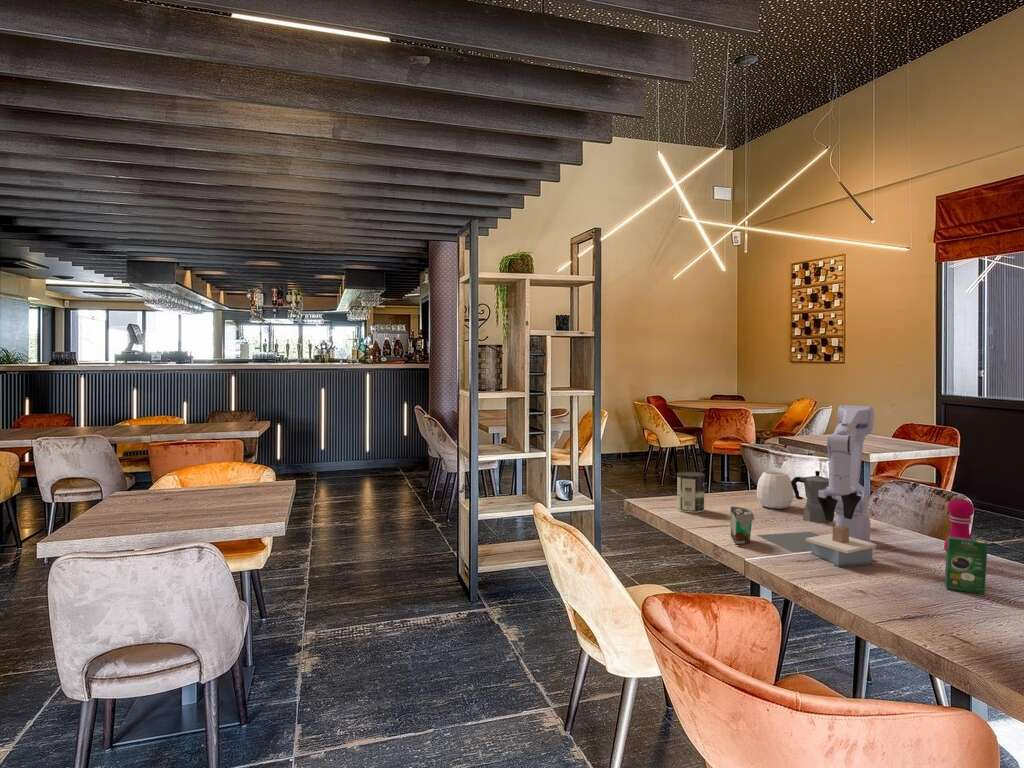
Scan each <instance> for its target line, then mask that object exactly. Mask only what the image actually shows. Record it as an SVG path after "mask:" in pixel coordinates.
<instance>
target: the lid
mask: <svg viewBox="0 0 1024 768" xmlns="http://www.w3.org/2000/svg"><path fill="white" fill-rule="evenodd" d="M819 535H820V534H819ZM806 541H807V542H811V543H814V544H817V545H821V546H824V547H827V548H831V549H834V550H837V551H840V552H844V553H852V552H856V551H861V550H865V549H870V548H872V549H875V548H877V547H878V546H877V545H878V544H877V543H875V542H874V543H873V542H867V541H863V540H859V539H856V538H852V537H849V528H847V527H843V526H836V525H835V526H832V533H831V532H830V533H826V534H822V535H820V536H815V537H810V538H806Z"/></svg>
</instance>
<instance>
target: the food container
mask: <svg viewBox="0 0 1024 768" xmlns="http://www.w3.org/2000/svg"><path fill="white" fill-rule="evenodd" d="M753 521H755V516H754V513H753V511H752V510H751V509H749V508H746V507H739V506H730V537H731V538H732V541H733V542H734V543H735V544H734V543H733V544H734V546H735V545H740V546H742V545H743V546H744V545H748V544H750V542H751V534H752V533H751V532H752V524H753V523H752V522H753Z"/></svg>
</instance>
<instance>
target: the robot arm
mask: <svg viewBox="0 0 1024 768" xmlns="http://www.w3.org/2000/svg"><path fill="white" fill-rule="evenodd" d="M874 420H875V410H874V407H873V406H872V405H866V406H865V405H846V404H840V405H839V406H838V409H837V422H838V424H837V425H836V427H835V428H834V429H835V430H834V432H833V433H831V435H828V436H827V439H826V440H827V441H826V448H827V459H828V460H829V461H828V462H829V464H828V478H829V487H826V489H823V490H819V496H818V500H819V502H820V504H821V506H822V508H823V511H824V515H825V519H826V520H827V521H830V523H831V522H832V523H833V522H834V520H835V526H843V527H847V528H849V537H852V538H856V539H859V540H863V541H867V542H870V543H873V541H872V540H871V519H870V517H869V515H868V514H866V513H867V510H868V505H869V504H868V503H869V500H868V497H869V493H868V490H867V489H866V488H865V487H864V486H863V485H862V484H860V476H861V467H862V466H861V465H862V459H863V457H862V456H863V449H864V447H863V446H864V443H865V442H864V441H865V439H866V436H868V435H870V434H872V432H873V427H874Z"/></svg>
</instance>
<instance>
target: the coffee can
mask: <svg viewBox="0 0 1024 768" xmlns="http://www.w3.org/2000/svg"><path fill="white" fill-rule="evenodd" d="M705 476H706V475H705V473H703V472H697V471H679V472H676V477H677V479H676V481H677V488H676V489H677V490H676V494H677V495H676V503H677V504H676V510H677V509H678V510H677V511H679V510H680V511H679V512H681V511H683V512H682V513H686V512H691V513H690V514H699V512H701V513H704V512H705V478H706V477H705ZM703 511H704V512H703Z"/></svg>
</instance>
